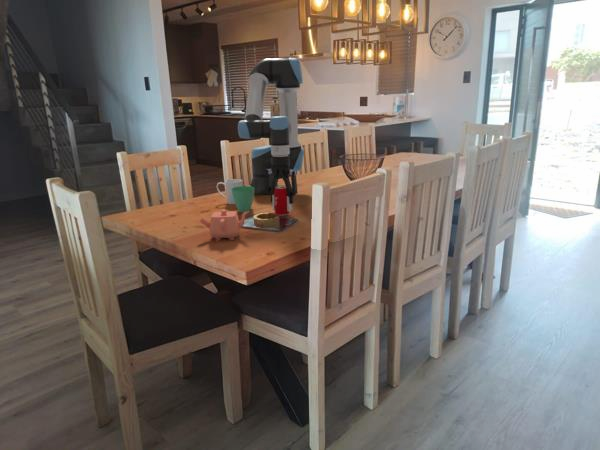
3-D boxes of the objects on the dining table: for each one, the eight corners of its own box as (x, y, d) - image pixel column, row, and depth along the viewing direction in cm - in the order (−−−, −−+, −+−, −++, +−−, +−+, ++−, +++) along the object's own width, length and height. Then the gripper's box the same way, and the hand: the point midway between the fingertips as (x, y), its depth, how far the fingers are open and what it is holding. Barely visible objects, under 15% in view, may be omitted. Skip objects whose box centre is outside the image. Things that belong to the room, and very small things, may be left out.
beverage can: (282, 211, 190) (281, 184, 186) (292, 214, 186) (292, 186, 182) (271, 214, 186) (270, 186, 182) (281, 217, 182) (280, 188, 178)
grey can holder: (254, 215, 184) (254, 209, 184) (298, 220, 177) (297, 213, 176) (234, 226, 171) (233, 219, 170) (280, 232, 163) (280, 224, 162)
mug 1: (244, 200, 211) (243, 178, 208) (242, 204, 203) (241, 182, 200) (219, 200, 211) (217, 179, 208) (216, 205, 203) (214, 182, 200)
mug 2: (252, 214, 187) (250, 191, 184) (230, 213, 189) (228, 190, 186) (260, 205, 201) (259, 184, 198) (240, 204, 203) (238, 183, 200)
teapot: (217, 246, 150) (215, 217, 147) (199, 238, 158) (197, 211, 155) (251, 236, 159) (249, 209, 156) (232, 229, 167) (231, 203, 164)
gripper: (255, 155, 179) (258, 210, 186) (298, 157, 171) (299, 214, 178) (264, 153, 185) (266, 206, 192) (305, 155, 178) (306, 209, 185)
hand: (282, 210), depth 185 cm, fingers closed on beverage can, 6 cm apart
